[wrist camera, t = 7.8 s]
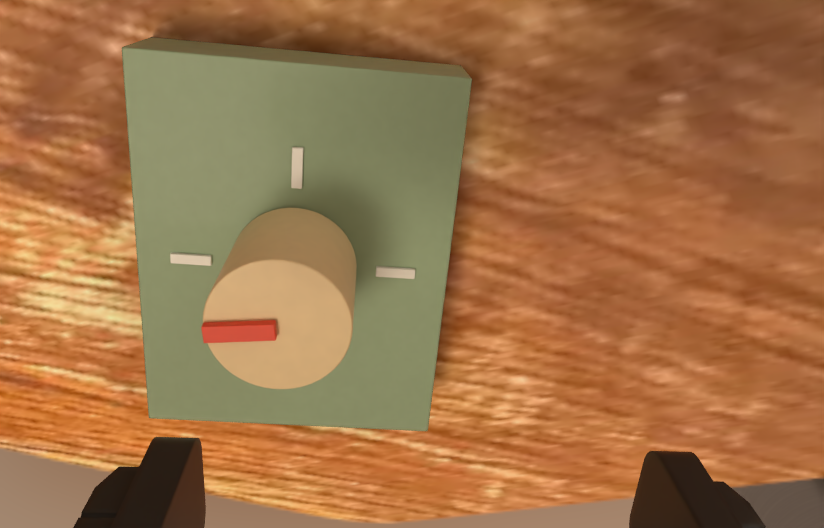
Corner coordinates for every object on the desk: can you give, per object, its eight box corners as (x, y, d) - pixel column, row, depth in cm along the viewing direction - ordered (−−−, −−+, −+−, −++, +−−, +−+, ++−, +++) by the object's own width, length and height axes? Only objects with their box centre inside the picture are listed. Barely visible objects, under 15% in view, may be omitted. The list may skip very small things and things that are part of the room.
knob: (353, 205, 23) (348, 261, 19) (359, 317, 25) (356, 392, 21) (224, 208, 23) (189, 266, 19) (239, 322, 25) (210, 398, 21)
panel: (423, 389, 30) (427, 434, 27) (169, 376, 29) (147, 421, 27) (461, 65, 25) (473, 79, 22) (150, 36, 24) (119, 47, 21)
